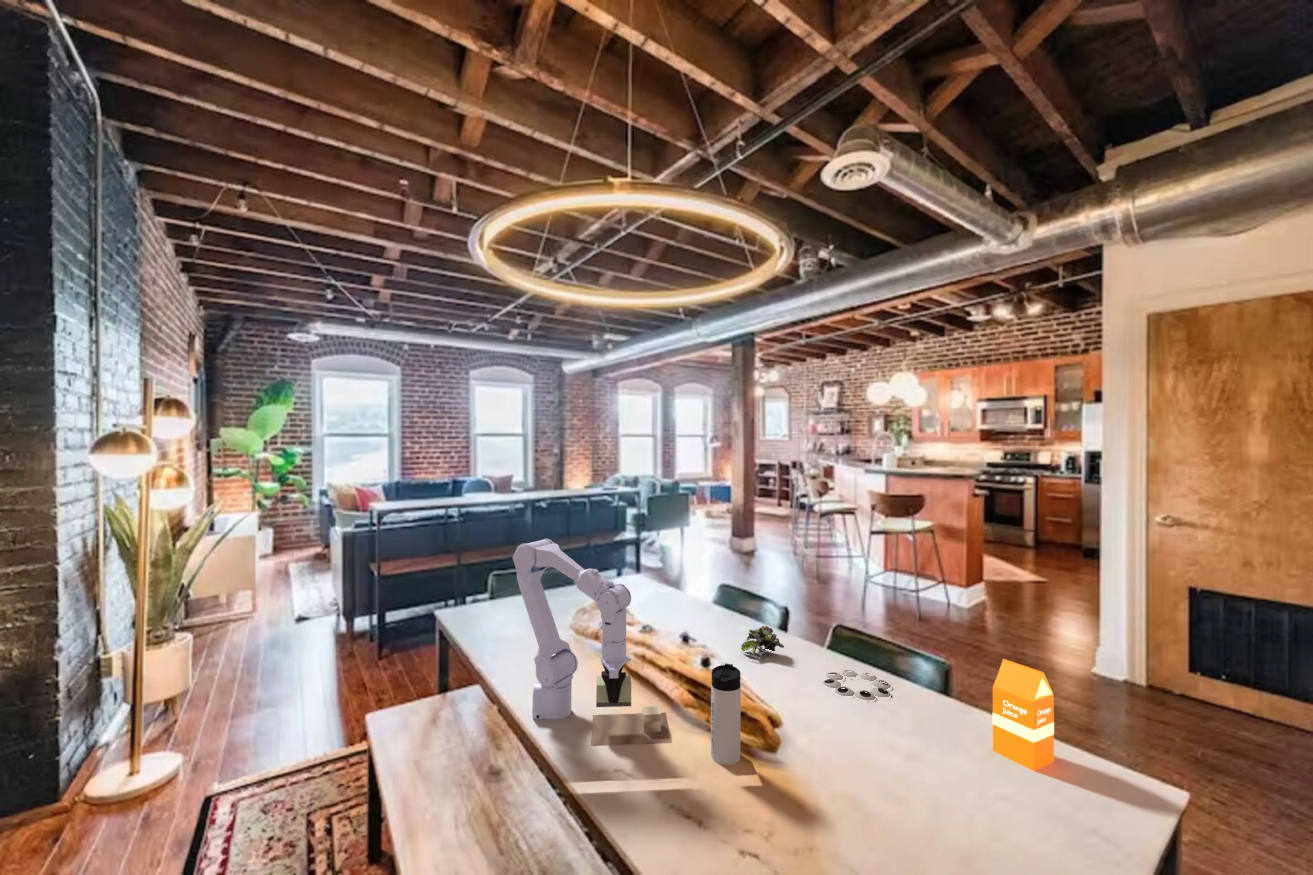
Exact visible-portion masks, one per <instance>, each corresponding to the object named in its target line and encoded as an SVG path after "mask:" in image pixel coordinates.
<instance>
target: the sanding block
mask: <svg viewBox="0 0 1313 875" xmlns="http://www.w3.org/2000/svg"><path fill="white" fill-rule="evenodd" d="M596 676H597V675H596ZM595 700H596V703H595V704H596V705H595V707H596V708H612V707H613V708H616V707H617V708H619V707H621V708H622V707H632V676H631V675H626V677H625V679H624V681H623V683H622V686H621V691H620V696H619V701H618V703H609V701H608V696H607V690H606V686H605V683H604V681H603V679H602V676H601V675H600V676H599V675H598V676H597V677H596V699H595Z"/></svg>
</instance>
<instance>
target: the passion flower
mask: <svg viewBox="0 0 1313 875" xmlns="http://www.w3.org/2000/svg"><path fill="white" fill-rule="evenodd" d="M777 636H778V635H777V634H776V633H774V630H773V628H772V627H769V626H767V625H761V626H760V627H759V628H755V629H754V630H753V629H751V628H749V629H748V636H747V637H746V640H744V641H743V643H742V644H741V647H740V650H741V649H742V650H741V651H743V652H744V651H745V650H747V651H748V650H749V649H752V654H753V656H756V650H758V657H759V656H760V657H761V656H762V654H763V653H765V652H766V650H765V649H769V650H772V651H775V652H776V647H779V648H782V649H784V648H785V646H784V644H782V643H780V638H779V637H778V638H777ZM763 647H764V648H763ZM772 651H771V652H772Z"/></svg>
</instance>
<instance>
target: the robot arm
mask: <svg viewBox="0 0 1313 875" xmlns="http://www.w3.org/2000/svg"><path fill="white" fill-rule="evenodd" d="M512 561H513V563H514V567H515V570H516V581H517V584H518V587H519V591H520V593H521V598H522V600H523V602H524V605H525V609H526V612H527V615H528V619H529V621H530V624H531V627H532V630H533V633H534V636H535V639H536V642H537V645H538V649H537V651H536V654H535V656H534V658H533V660H534V664H535V676H536V679H537V681H538V682H534V684H533V689H532V711H531V714H532V720H553V721H554V720H555V721H557V720H562V719H565V718H567V717H569V716H570V715H571V714H572V683H573V682H572V681H573V679H574V673H576V671H577V670H578V663H579V662H578V659H577V656H576V654H575V653H574V652H573V650H572V649H571V646H570V643H569V642H567V641H565V640H563V639H561V637H560V634H559V631H558V629H557V628H558V627H557V625H556V622H555V619H554V616H553V613H552V609H551V608H550V605H549V601H548V598H547V595H546V593H545V590H544V586H543V584H542V581H541V579H542V577H543V575H544V573H545V571H546V570H547V568H548V567H552V568H554V569H556V570H557V571H558V572H560V573H562V574H564V575H565V576H567V577H568V578H570V579H572V580H573V581H575V582H576V588H577V589H578V591H580V592H582V593H583V594H584V595H586V596H587V597H589V599H591V600H593V601H594V602H595V603H596V605H597V608H598V610H599V612H600V619H601V657H600V662H601V665H602V667H603V669H604V670H602V671H601V675H600V676H602V679H603V681H604V683H605V686H606V690H607V696H608V701H609V703H618V701H619V696H620V691H621V686H622V683H623V681H624V679H625V677H626V676H627V672H626V671H625V672H624V671H623V668H624V667H625V665H626V663H627V662H631V661H632V657H631V656H632V655H630V654H629V655H627V607H628V606H630V605H631V602H632V594H631V591H630V590H629V588H628V587H626V586H625V584H622V583H617V584H616V583H614V582H613V580H609V579H608V578H606V577H605V576H603V575H602V574H601V573H599V572H600V571H599V569H596V568H587V569H584V568H583V567H582V566H581V565H579V564H578V563H577V561H574V559H572V558H571V557H570V556H568V554H566V553H565V552H563V550H561V549H560V545H559V544H557V543H555V542H554V541H553V540H551V539H549V538H543V539H541V540H536V541H532V542H528V543H520V545H518V546H517V547H516V550H515V551H514V554H513V555H512Z"/></svg>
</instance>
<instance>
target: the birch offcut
mask: <svg viewBox="0 0 1313 875" xmlns="http://www.w3.org/2000/svg"><path fill="white" fill-rule="evenodd" d="M642 713H643V731H644V732H661V713H662V712H661V707H660V706H659V705H656V706H655V705H653V706H642Z"/></svg>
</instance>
